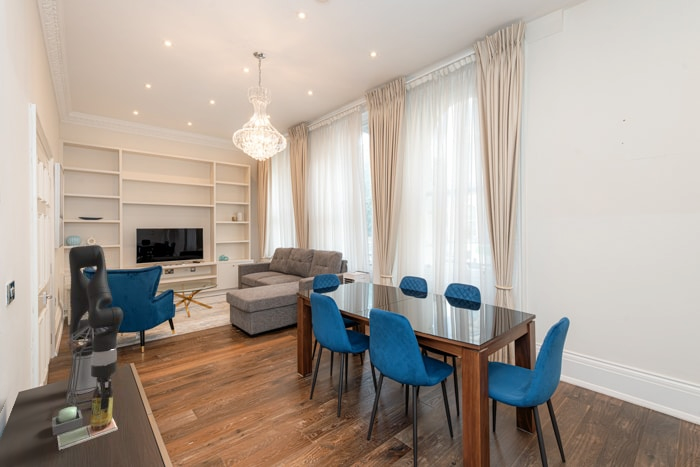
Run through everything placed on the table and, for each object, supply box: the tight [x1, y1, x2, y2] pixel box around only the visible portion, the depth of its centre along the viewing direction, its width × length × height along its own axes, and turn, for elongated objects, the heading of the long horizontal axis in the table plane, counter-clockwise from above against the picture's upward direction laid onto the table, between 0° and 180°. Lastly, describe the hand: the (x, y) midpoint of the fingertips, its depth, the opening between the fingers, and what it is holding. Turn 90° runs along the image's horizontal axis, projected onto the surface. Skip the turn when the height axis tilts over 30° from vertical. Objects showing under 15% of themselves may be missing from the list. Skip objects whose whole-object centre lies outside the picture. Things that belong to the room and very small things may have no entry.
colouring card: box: [56, 417, 119, 451], centre depth 113 cm, size 10×16×1 cm, turn 136°
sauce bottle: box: [90, 374, 114, 430], centre depth 116 cm, size 7×6×20 cm
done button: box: [58, 406, 77, 424], centre depth 117 cm, size 5×5×4 cm
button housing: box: [51, 409, 84, 437], centre depth 117 cm, size 8×8×3 cm
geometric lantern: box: [64, 325, 109, 412], centre depth 133 cm, size 16×16×35 cm
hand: (102, 404), depth 116 cm, fingers open, 8 cm apart
